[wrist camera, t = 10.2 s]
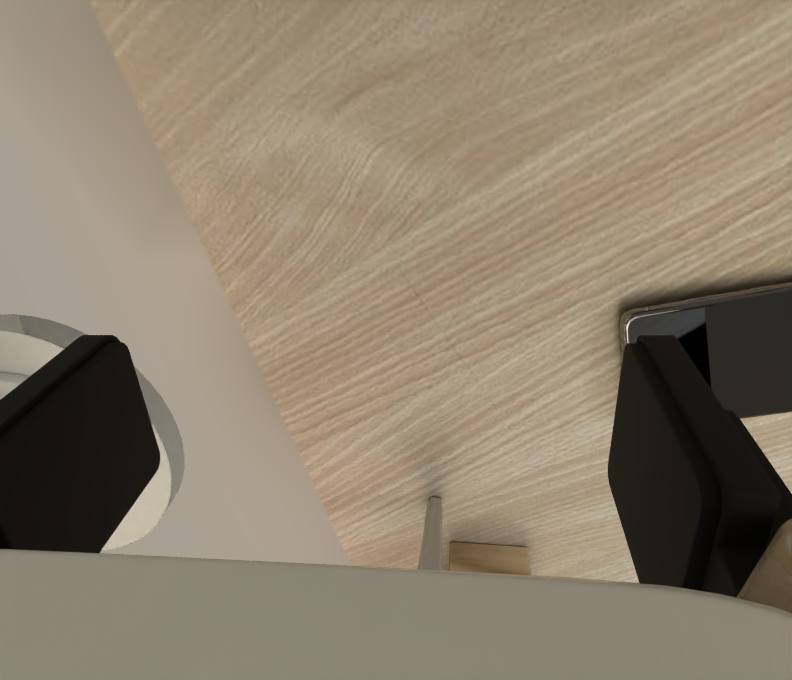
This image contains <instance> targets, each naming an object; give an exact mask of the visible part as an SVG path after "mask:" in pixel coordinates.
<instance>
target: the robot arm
mask: <svg viewBox="0 0 792 680" xmlns="http://www.w3.org/2000/svg"><path fill="white" fill-rule="evenodd" d="M159 465H160V451H159V447H158V444H157V441H156V437H155V434H154V431H153V428H152V424H151V421H150V418H149V414H148V411H147V408H146V405H145V401H144V398H143V395H142V391H141V388H140V385H139V382H138V378H137V375H136V372H135V369H134V365H133V362H132V359H131V355H130V352H129V350H128V347H127V346H126V345H125V344H124V343H122V342H120V341H119V340H118V338H117V337H115V336H113V335H83V336H81V337H79V338H78V339H76V340H75V341H74V342H73V343H71V344H70V345H69V346H68V347H66V348H65V349H64V350H62V351H61V352H60V353H59V354H57V355H56V356H55V357H54V358H52V359H51V360H50V361H49V362H47V363H46V364H45V365H44V366H42V367H41V368H40V369H39V370H37V371H36V372H35V373H33V374H32V375H31V376H30V377H28V376H25V375H21V374H13V373H5V372H1V373H0V680H792V494H791V492H790V491H789V490H788V488H787V487H786V485H785V484H784V482H783V481H782V479H781V478H780V477H779V475H778V474H777V472H776V471H775V469H774V468H773V466H772V465H771V463H770V462H769V461H768V459H767V458H766V456H765V455H764V453H763V452H762V450H761V449H760V448H759V446H758V445H757V443H756V442H755V440H754V439H753V437H752V436H751V434H750V433H749V432H748V430H747V429H746V427H745V426H744V424H743V423H742V421H741V420H740V419H739V417H738V416H737V415H736V414H735V413H734V412H733V411H732V410H728V409H724V408H723V406H722V405H721V403H720V402H719V400H718V399H717V397H716V396H715V394H714V393H713V391H712V390H711V388H710V387H709V385H708V384H707V382H706V381H705V379H704V378H703V376H702V375H701V373H700V372H699V370H698V369H697V367H696V366H695V364H694V363H693V361H692V360H691V358H690V357H689V355H688V354H687V352H686V351H685V349H684V348H683V346H682V345H681V343H680V342H679V340H678V339H677V337H675V336H674V335H639V336H638V337H637V340H636V343H627V344H626V346H625V349H624V354H623V362H622V369H621V376H620V383H619V390H618V397H617V405H616V412H615V419H614V426H613V433H612V440H611V447H610V455H609V462H608V478H609V484H610V488H611V491H612V494H613V497H614V501H615V504H616V507H617V511H618V514H619V517H620V520H621V524H622V527H623V530H624V533H625V537H626V540H627V543H628V547H629V550H630V553H631V556H632V560H633V563H634V566H635V569H636V573H637V576H638V579H639V583H629V582H617V581H605V580H593V579H582V578H569V577H551V576H533V575H514V574H496V573H478V572H460V571H441V570H423V569H405V568H386V567H366V566H345V565H325V564H304V563H284V562H263V561H243V560H241V561H240V560H221V559H201V558H181V557H162V556H142V555H141V556H140V555H122V554H102V553H100V551H101V550H102V549H103V547H104V546H105V544H106V543H107V541H108V540H109V539H110V537H111V536H112V534H113V533H114V532H115V530H116V529H117V527H118V526H119V524H120V523H121V522H122V520H123V519H124V517H125V516H126V515H127V513H128V512H129V510H130V509H131V507H132V506H133V505H134V503H135V502H136V500H137V499H138V497H139V496H140V495H141V493H142V492H143V490H144V489H145V488H146V486H147V485H148V483H149V482H150V480H151V479H152V478H153V476H154V475H155V473H156V472H157V470H158V468H159Z"/></svg>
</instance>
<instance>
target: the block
mask: <svg viewBox="0 0 792 680" xmlns="http://www.w3.org/2000/svg"><path fill="white" fill-rule="evenodd" d="M449 571H460V572H478V573H496V574H514V575H531V573H530V563H529V553H528V548H527V547H516V546H502V545H488V544H474V543H460V542H451V543H450V561H449Z"/></svg>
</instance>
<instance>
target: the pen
mask: <svg viewBox="0 0 792 680" xmlns="http://www.w3.org/2000/svg"><path fill="white" fill-rule="evenodd" d="M418 569H423V570H441V571H442V501H441V498H437V497H431V498H430V500H429V503H428V506H427V511H426V518H425V526H424V534H423V541H422V547H421V553H420V559H419V565H418Z"/></svg>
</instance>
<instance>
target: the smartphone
mask: <svg viewBox="0 0 792 680" xmlns="http://www.w3.org/2000/svg"><path fill="white" fill-rule="evenodd" d="M639 335H674V336H675V337H677V339H678V340H679V342H680V343H681V345H682V346H683V348H684V349H685V351H686V352H687V354H688V355H689V357H690V358H691V360H692V361H693V363H694V364H695V366H696V367H697V369H698V370H699V372H700V373H701V375H702V376H703V378H704V379H705V381H706V382H707V384H708V385H709V387H710V388H711V390H712V391H713V393H714V394H715V396H716V397H717V399H718V400H719V402H720V403H721V405H722V406H723V408H724V409H728V410H732V411H733V412H734V413H735V414H736V415H737V416H738V417H739V419H742V418H749V417H757V416H765V415H772V414H780V413H787V412H792V282H787V283H782V284H776V285H768V286H762V287H757V288H751V289H746V290H740V291H735V292H729V293H722V294H716V295H710V296H704V297H698V298H692V299H686V300H682V301H676V302H670V303H664V304H659V305H653V306H647V307H641V308H636V309H631V310H628V311H627V312H625V313H624V314H623V315H622V317H621V320H620V336H621V348H622V360H623V354H624V349H625V346H626V344H627V343H636V340H637V337H638V336H639Z"/></svg>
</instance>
